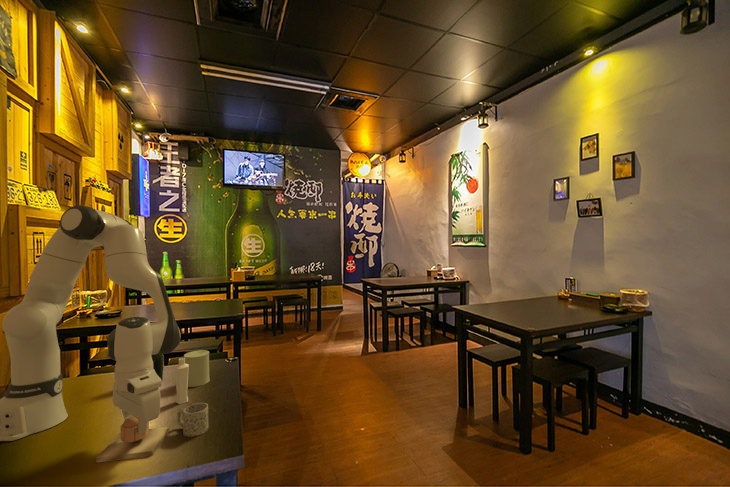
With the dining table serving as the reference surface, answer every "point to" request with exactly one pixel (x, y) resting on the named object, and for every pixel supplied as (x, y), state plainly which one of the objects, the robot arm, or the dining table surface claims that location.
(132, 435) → the cap
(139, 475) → the dining table surface
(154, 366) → the potion bottle
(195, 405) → the mug
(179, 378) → the perfume bottle
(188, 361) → the can
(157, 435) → the board
